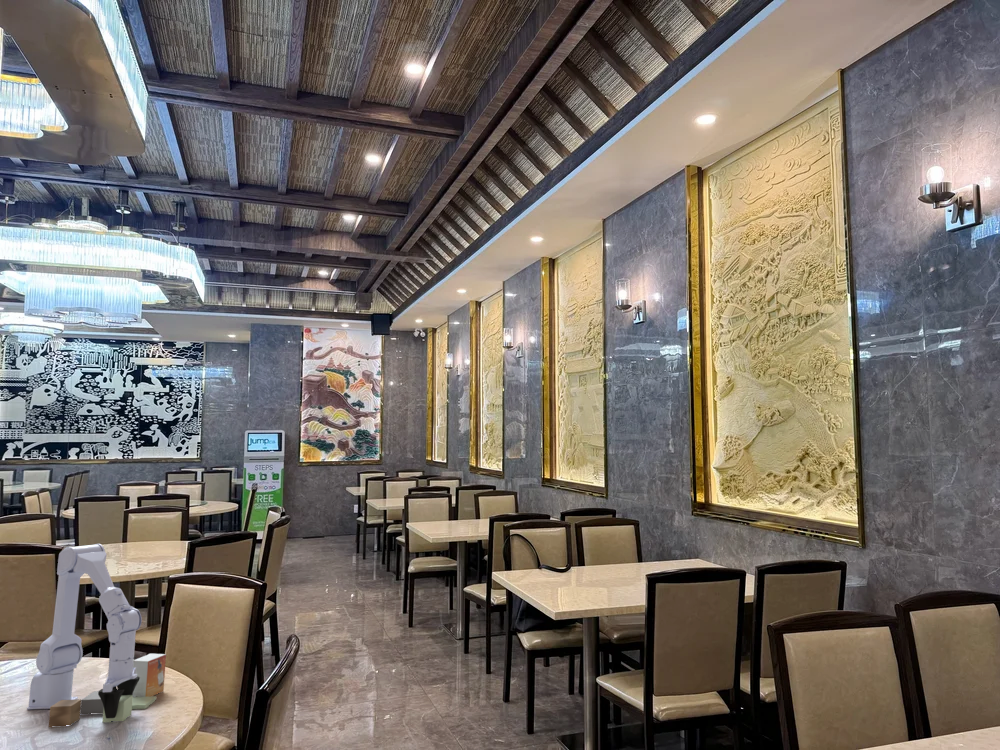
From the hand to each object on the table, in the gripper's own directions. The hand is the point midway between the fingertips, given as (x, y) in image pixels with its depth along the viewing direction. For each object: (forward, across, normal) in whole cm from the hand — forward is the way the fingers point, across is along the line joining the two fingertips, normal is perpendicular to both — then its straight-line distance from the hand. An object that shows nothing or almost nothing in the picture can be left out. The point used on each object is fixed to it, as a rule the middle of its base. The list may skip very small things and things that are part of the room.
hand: (117, 712), depth 173 cm
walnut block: (+2, -2, +12) cm, 12 cm away
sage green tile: (+1, +10, -1) cm, 10 cm away
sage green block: (+2, 0, 0) cm, 2 cm away
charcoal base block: (+2, +7, +8) cm, 11 cm away
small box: (+2, +18, 0) cm, 18 cm away
